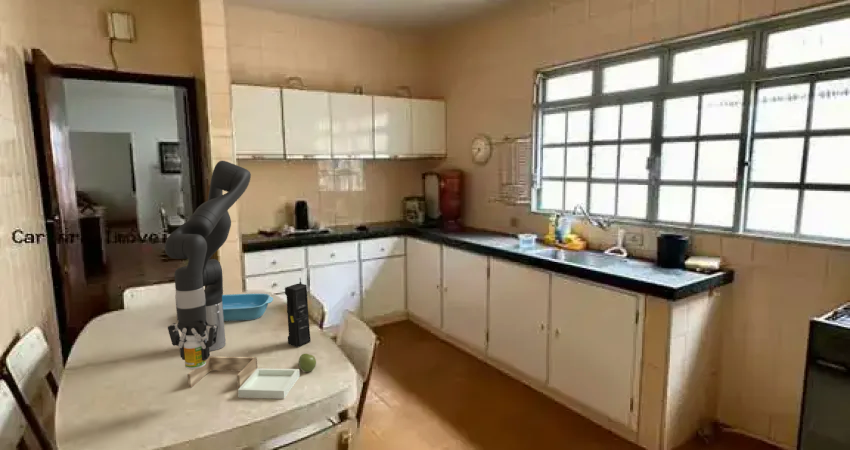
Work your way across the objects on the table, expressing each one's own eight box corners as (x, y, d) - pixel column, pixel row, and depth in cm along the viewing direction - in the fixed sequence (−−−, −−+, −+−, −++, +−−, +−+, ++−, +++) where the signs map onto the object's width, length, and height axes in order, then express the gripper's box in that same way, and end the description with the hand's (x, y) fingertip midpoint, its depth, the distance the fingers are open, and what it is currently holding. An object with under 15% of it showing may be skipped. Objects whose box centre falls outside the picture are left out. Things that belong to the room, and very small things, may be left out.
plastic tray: (238, 397, 140) (237, 389, 140) (257, 375, 154) (257, 368, 153) (284, 398, 139) (283, 390, 139) (299, 376, 153) (299, 369, 153)
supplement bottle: (197, 370, 133) (195, 338, 131) (181, 368, 134) (178, 336, 132) (210, 362, 138) (207, 331, 136) (194, 360, 139) (191, 329, 138)
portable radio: (296, 349, 174) (293, 284, 170) (285, 345, 177) (281, 281, 174) (312, 341, 181) (309, 279, 177) (300, 338, 184) (297, 276, 180)
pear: (299, 359, 153) (295, 352, 162) (301, 375, 153) (296, 367, 162) (317, 355, 155) (311, 349, 165) (318, 371, 155) (312, 364, 165)
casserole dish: (277, 305, 225) (276, 291, 224) (269, 321, 203) (268, 306, 202) (196, 309, 220) (195, 295, 219) (179, 327, 198) (177, 310, 197)
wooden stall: (188, 387, 146) (187, 374, 145) (209, 368, 159) (208, 356, 158) (240, 388, 145) (239, 375, 144) (257, 369, 158) (256, 357, 157)
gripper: (158, 306, 130) (163, 364, 132) (208, 308, 129) (212, 365, 131) (174, 298, 137) (179, 352, 140) (221, 299, 136) (225, 354, 139)
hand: (195, 358), depth 136 cm, fingers closed on supplement bottle, 5 cm apart
